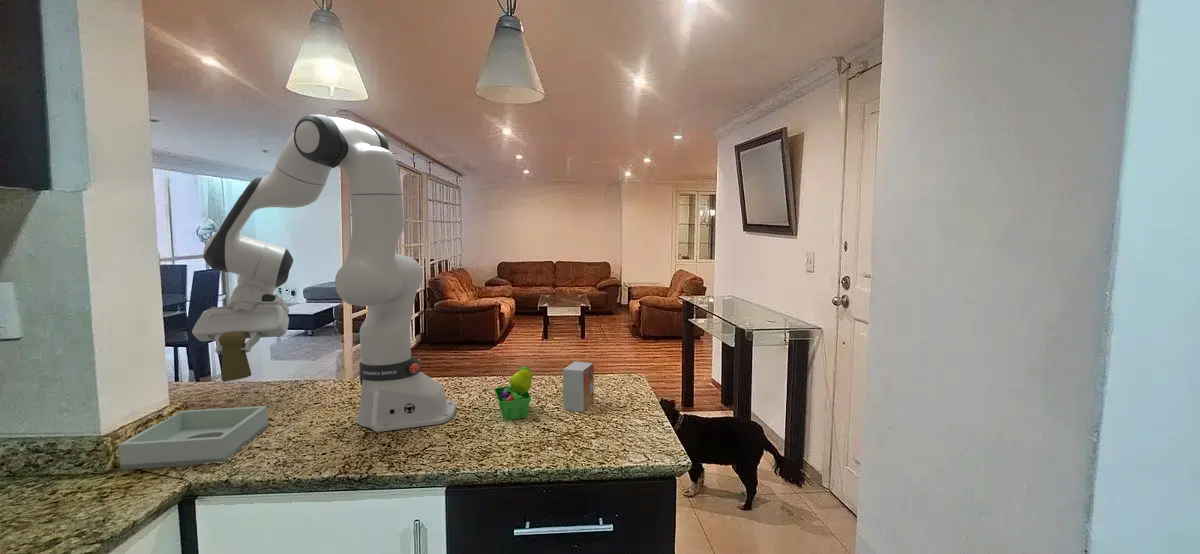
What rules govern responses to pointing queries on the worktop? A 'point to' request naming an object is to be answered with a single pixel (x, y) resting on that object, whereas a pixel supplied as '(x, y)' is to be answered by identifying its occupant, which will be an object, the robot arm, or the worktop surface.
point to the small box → (578, 386)
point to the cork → (234, 356)
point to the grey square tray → (193, 438)
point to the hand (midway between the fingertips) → (232, 352)
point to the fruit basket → (515, 395)
